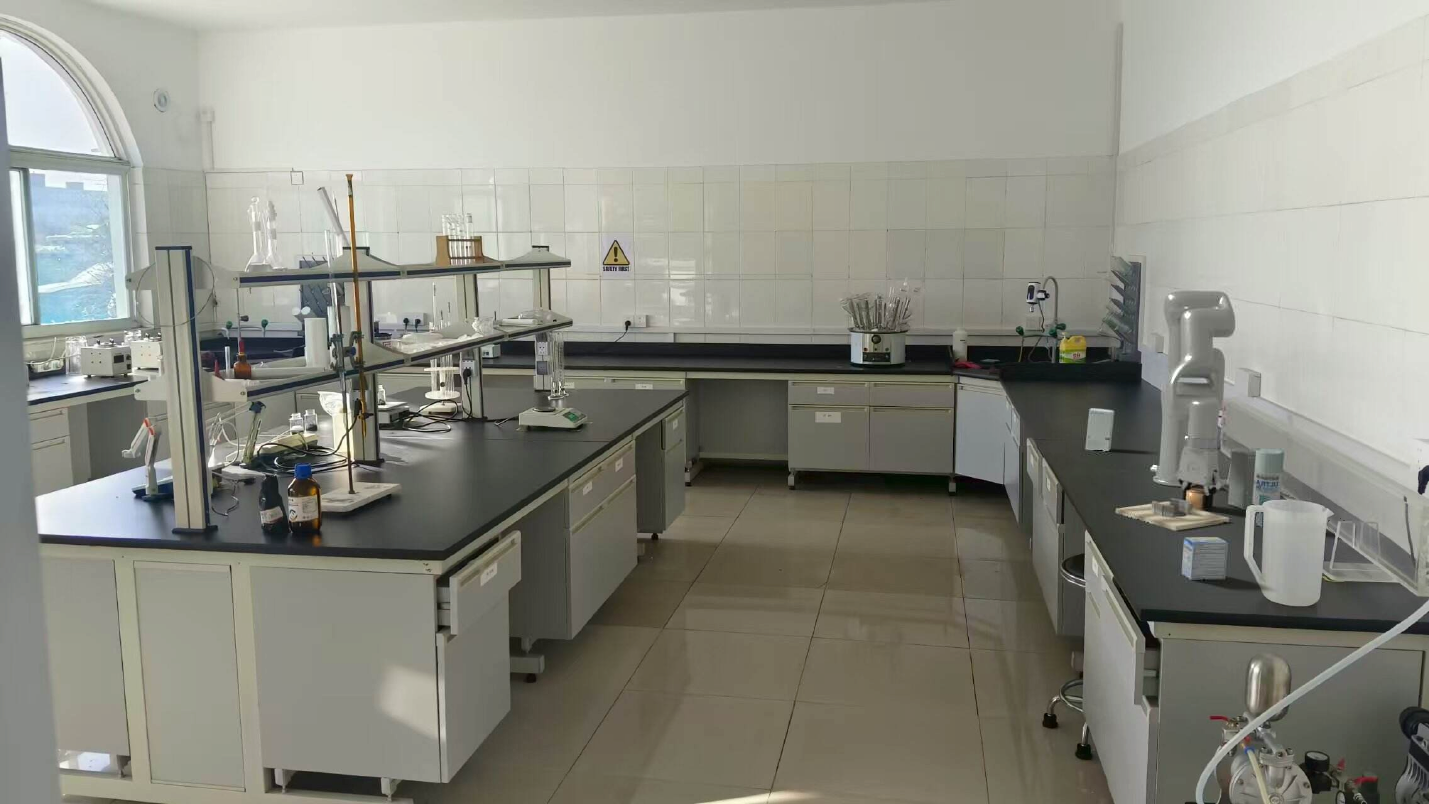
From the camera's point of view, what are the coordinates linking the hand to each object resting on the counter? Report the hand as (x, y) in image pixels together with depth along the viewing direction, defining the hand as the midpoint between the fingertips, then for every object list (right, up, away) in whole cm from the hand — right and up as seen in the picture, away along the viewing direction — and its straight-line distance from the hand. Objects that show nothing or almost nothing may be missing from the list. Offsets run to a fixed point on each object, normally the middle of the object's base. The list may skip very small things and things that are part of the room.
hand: (1197, 505), depth 294 cm
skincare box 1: (+3, +12, +84) cm, 85 cm away
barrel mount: (-12, -2, -11) cm, 17 cm away
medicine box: (-28, -10, -62) cm, 69 cm away
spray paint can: (+9, -4, -19) cm, 21 cm away
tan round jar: (0, -1, 0) cm, 1 cm away
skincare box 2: (+15, -1, +2) cm, 15 cm away
